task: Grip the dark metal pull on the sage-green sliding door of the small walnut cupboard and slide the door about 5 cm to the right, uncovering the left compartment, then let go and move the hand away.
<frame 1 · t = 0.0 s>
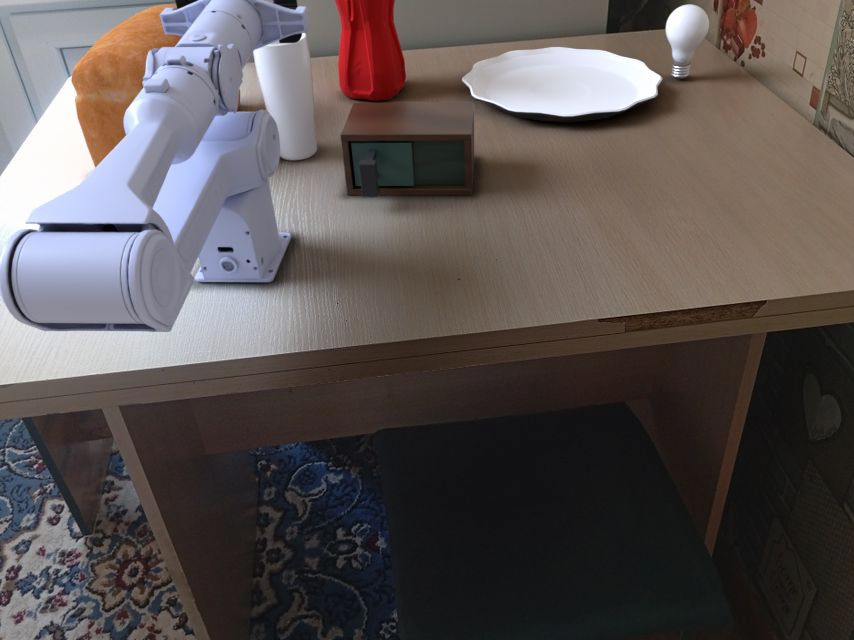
plate: (560, 94, 120), on the table
bread: (176, 140, 109), on the table
water bottle: (371, 95, 121), on the table
white cylinder: (297, 155, 104), on the table
lightbulb: (679, 80, 124), on the table
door: (381, 172, 90), point 4 cm above the table, slide at 0.0 cm
cupboard: (413, 176, 98), on the table
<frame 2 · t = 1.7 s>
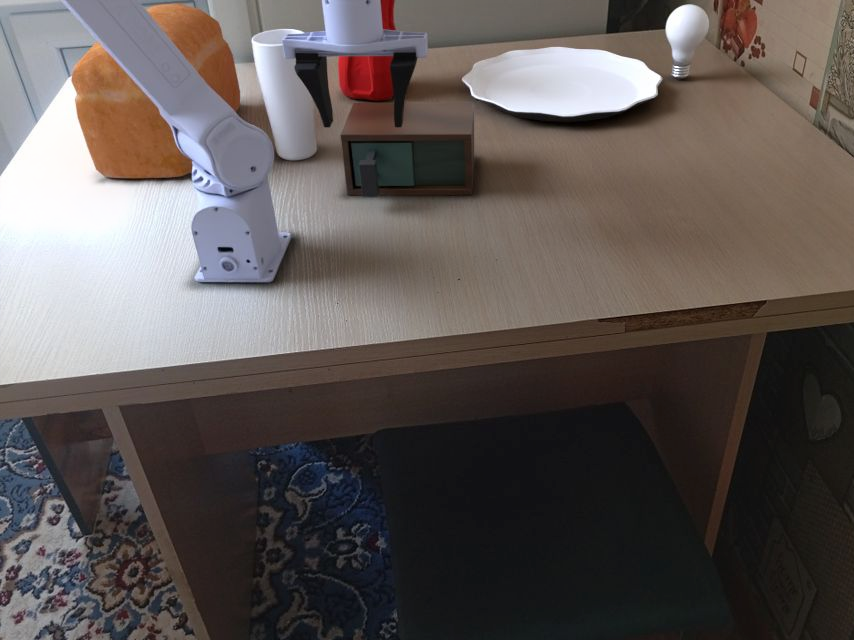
hand: (363, 124, 85), 10 cm above the table, tool pointing down, fingers open, 7 cm apart
nothing on the table moved.
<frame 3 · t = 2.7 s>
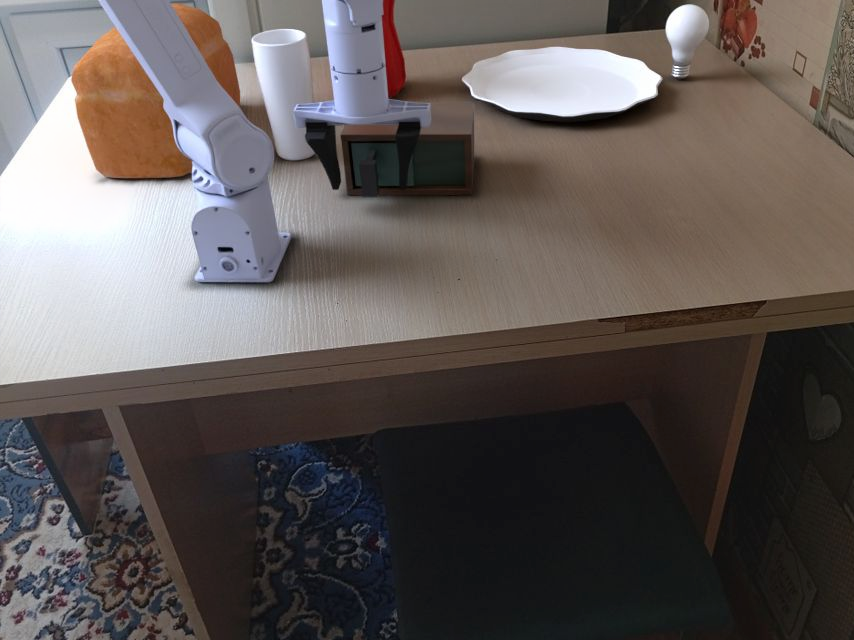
hand: (370, 185, 89), 3 cm above the table, tool pointing down, fingers open, 7 cm apart
nothing on the table moved.
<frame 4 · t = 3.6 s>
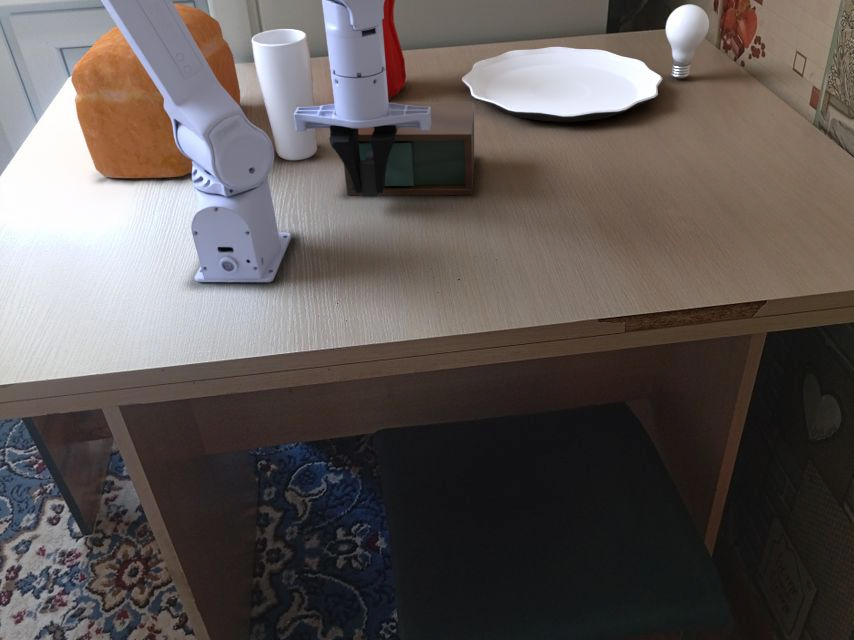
hand: (370, 189, 90), 3 cm above the table, tool pointing down, fingers closed on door, 2 cm apart
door: (380, 172, 90), point 4 cm above the table, slide at 0.0 cm, touching gripper
everything else where it was.
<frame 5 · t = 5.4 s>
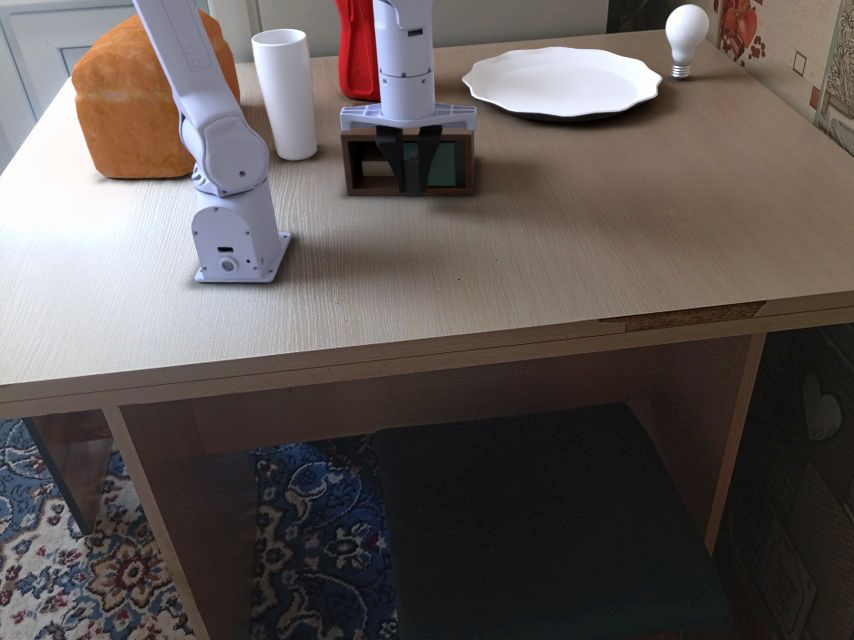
hand: (413, 189, 89), 3 cm above the table, tool pointing down, fingers closed on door, 2 cm apart
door: (423, 172, 90), point 4 cm above the table, slide at 4.9 cm, touching gripper
everything else where it was.
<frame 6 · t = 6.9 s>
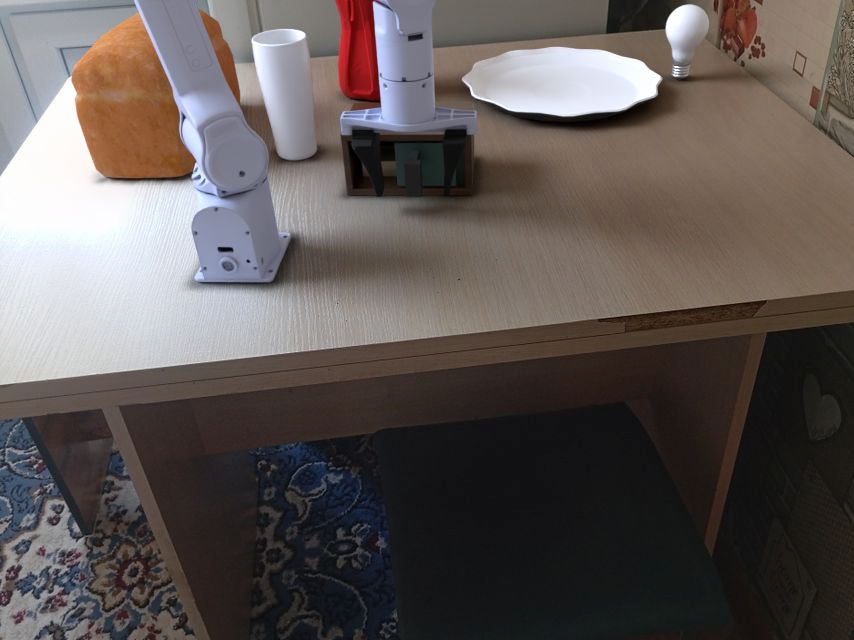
hand: (413, 192, 89), 2 cm above the table, tool pointing down, fingers open, 7 cm apart
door: (424, 172, 90), point 4 cm above the table, slide at 5.0 cm
everything else where it was.
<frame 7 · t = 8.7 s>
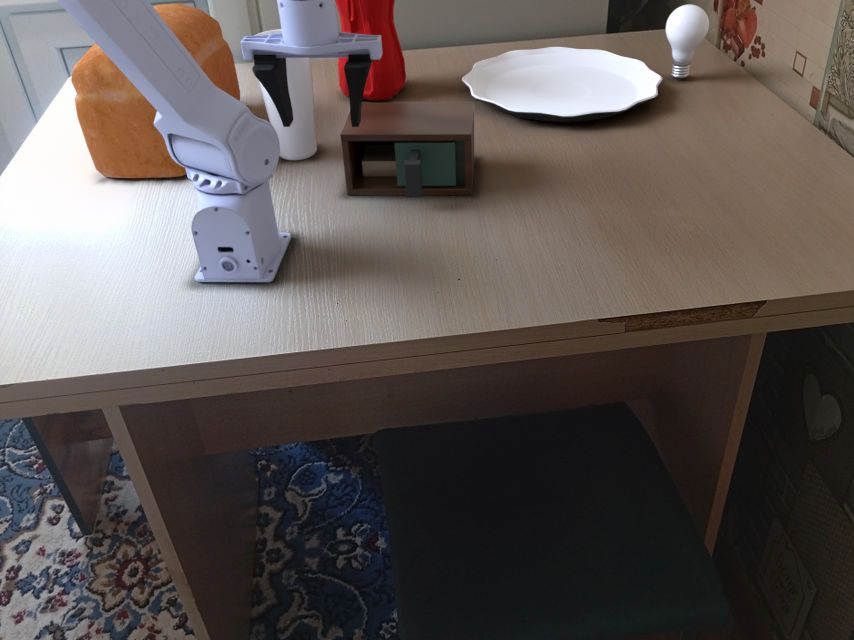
hand: (322, 123, 88), 9 cm above the table, tool pointing down, fingers open, 7 cm apart
nothing on the table moved.
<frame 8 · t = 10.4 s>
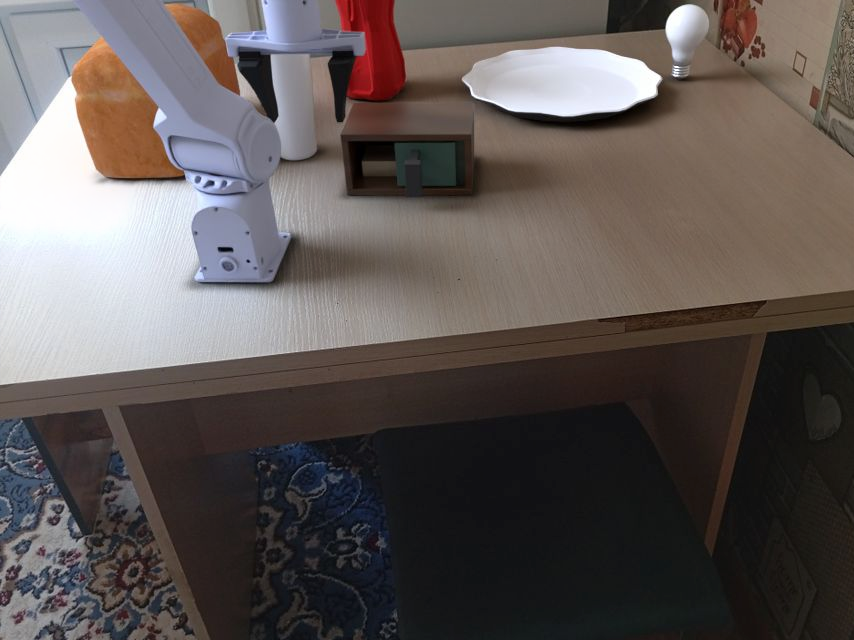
hand: (307, 119, 89), 9 cm above the table, tool pointing down, fingers open, 7 cm apart
nothing on the table moved.
at the end: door slide at 5.0 cm; the gripper is holding nothing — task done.
